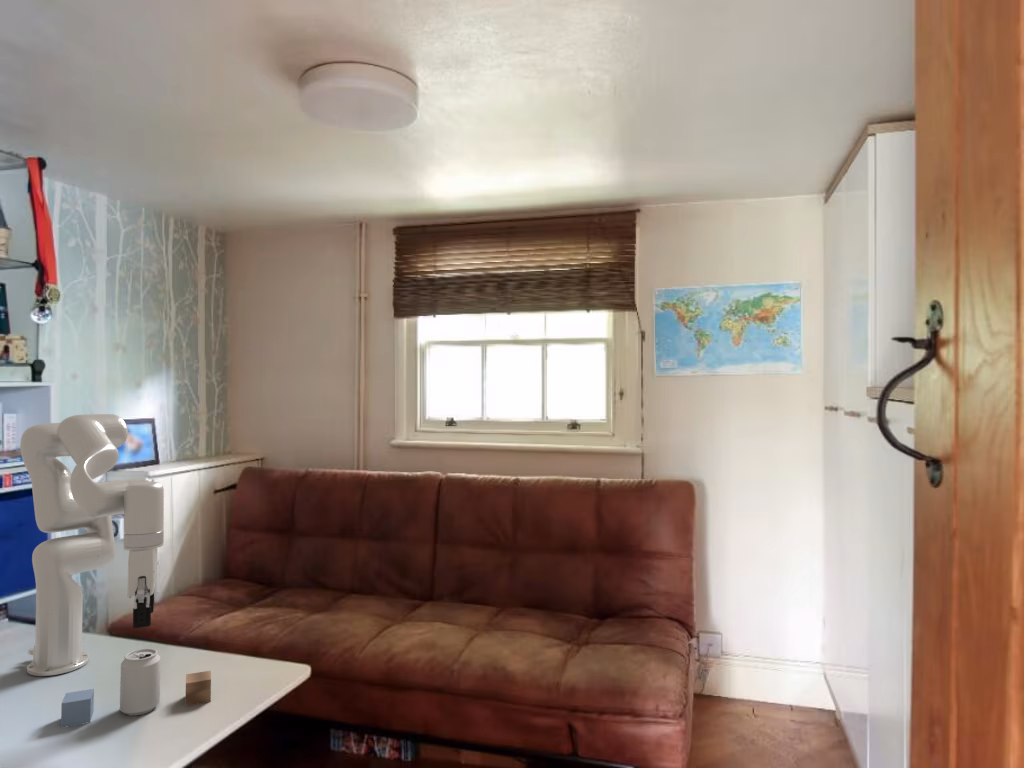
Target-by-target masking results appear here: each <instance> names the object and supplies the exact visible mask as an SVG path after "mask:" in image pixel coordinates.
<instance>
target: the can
mask: <svg viewBox="0 0 1024 768" xmlns="http://www.w3.org/2000/svg"><path fill="white" fill-rule="evenodd" d="M123 658H124V659H123V660H122V662H121V663H120V688H119V689H120V690H119V692H120V694H119V711H121V712H122V713H123V714H125V715H126V714H128V715H127V716H133V715H134V716H140V715H145V714H147V713H150V712H152V711H153V710H154V709H156V707H157V706H158V705H159V704H160V702H161V701H160V700H161V664H162V663H161V661H162V659H161V656H160V655H159V654H158V650H157V649H155V648H149V647H147V648H139V649H135V650H132V651H129V652H127V654H125V655H124V657H123Z"/></svg>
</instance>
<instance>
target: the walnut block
mask: <svg viewBox="0 0 1024 768" xmlns="http://www.w3.org/2000/svg"><path fill="white" fill-rule="evenodd" d="M211 694H212V672H211V670H205V671H199V672H193V673H187V674H185V701H184V703H185V707H187V706H189V707H190V706H193V705H199V704H205V703H210V702H212V699H211V696H212V695H211Z"/></svg>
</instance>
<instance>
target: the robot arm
mask: <svg viewBox="0 0 1024 768" xmlns="http://www.w3.org/2000/svg"><path fill="white" fill-rule="evenodd" d="M128 435H129V430H128V425H127V424H126V422H125V420H124V419H123V418H122V417H120V416H119V415H116V414H114V413H113V414H111V413H108V414H107V413H104V414H101V413H99V414H92V413H90V414H74V415H72V416H69V417H65V418H64V419H63V420H61V422H49V423H40V424H35V425H32V426H30V427H28V428H27V429H25V430H24V431H23V433H22V435H21V438H20V446H19V447H20V454H21V459H22V461H23V463H24V467H25V468H26V471H27V473H28V475H29V478H30V482H31V488H32V490H31V491H32V497H33V500H32V501H33V508H34V517H35V522H36V526H37V528H38V530H39V531H40V532H43V533H46V534H51V533H61V532H68V531H76V530H81V529H85V530H86V533H80V534H72V535H71V534H70V535H67V536H60V537H55V538H50V539H47V540H44V541H43V542H40V543H39V544H38V545H37V546H36V547H35V548H34V549H33V551H32V556H31V557H32V558H31V562H32V568H33V573H34V579H35V581H34V582H35V594H36V595H35V598H36V599H35V635H34V636H35V638H34V639H35V643H34V646H33V648H30V649H29V650H28V651H27V654H28V655H31V656H33V657H32V658H33V659H32V660H33V661H31V662H30V663H28V665H27V666H26V673H27V674H29V675H30V676H34V677H35V676H36V677H47V676H48V677H51V676H57V675H61V674H66V673H69V672H73V671H76V670H78V669H79V668H82V667H84V666H85V665H86V664H87V663H88V662H89V660H90V659H89V658H90V655H89V654H88V653H87V652H84V651H82V650H83V649H82V647H83V645H82V643H83V607H84V604H83V602H84V598H83V596H84V594H83V589H82V587H81V586H80V585H79V583H78V582H76V580H74V579H73V577H72V576H74V575H78V574H82V573H85V572H86V573H87V572H91V571H95V570H96V571H97V570H100V569H103V568H106V567H108V566H110V565H111V564H112V563H113V561H114V559H115V555H116V544H115V536H114V528H113V519H112V516H118V515H123V550H125V551H129V552H128V560H127V561H128V563H127V598H128V599H131V598H132V597H134V603H133V608H132V628H133V629H139V628H146V627H150V626H151V624H152V614H153V613H154V604H155V603H154V601H155V600H154V598H155V597H154V593H155V588H156V583H157V577H158V576H157V575H158V548H161V547H163V546H164V544H165V543H164V542H165V541H164V539H165V538H164V537H165V536H164V533H165V531H164V526H165V523H164V520H165V517H164V516H165V515H164V514H165V513H164V511H165V508H164V507H165V506H164V505H165V504H164V503H165V499H164V498H165V493H164V491H165V489H164V486H163V484H162V483H161V482H157V481H150V480H148V479H145V478H131V479H121V480H120V479H118V480H109V481H108V480H106V481H100V482H96V481H94V479H96V478H99V477H100V476H102V475H104V474H106V473H107V472H110V471H111V470H112V469H113V468H114V467H115V465H117V463H118V461H119V456H120V455H119V454H120V452H119V451H118V448H120V447H121V446H123V445H124V444H125V443H126V441H127V439H128ZM56 457H57V458H56ZM59 457H71V458H72V460H73V461H74V463H75V466H74V468H73V470H72V472H71V470H70V468H68V467H67V466H66V465H65V464H64V463H63V462H61V460H60V459H58V458H59Z"/></svg>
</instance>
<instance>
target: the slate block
mask: <svg viewBox="0 0 1024 768" xmlns="http://www.w3.org/2000/svg"><path fill="white" fill-rule="evenodd" d="M94 693H95V689H94V688H90V689H84V690H77V691H70V692H66V693H65V695H64V697H63V699H62V700H61V714H60V715H61V716H60V717H61V718H60V720H61V721H60V728H61V727H63V728H67V727H66V726H68V727H73V725H74V726H79V725H78V724H80V725H83V724H82V723H86V722H90V723H91V721H92V718H93V715H94V709H95V708H94V707H95V700H94V699H95V694H94ZM90 720H91V721H90ZM86 724H87V723H86Z"/></svg>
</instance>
